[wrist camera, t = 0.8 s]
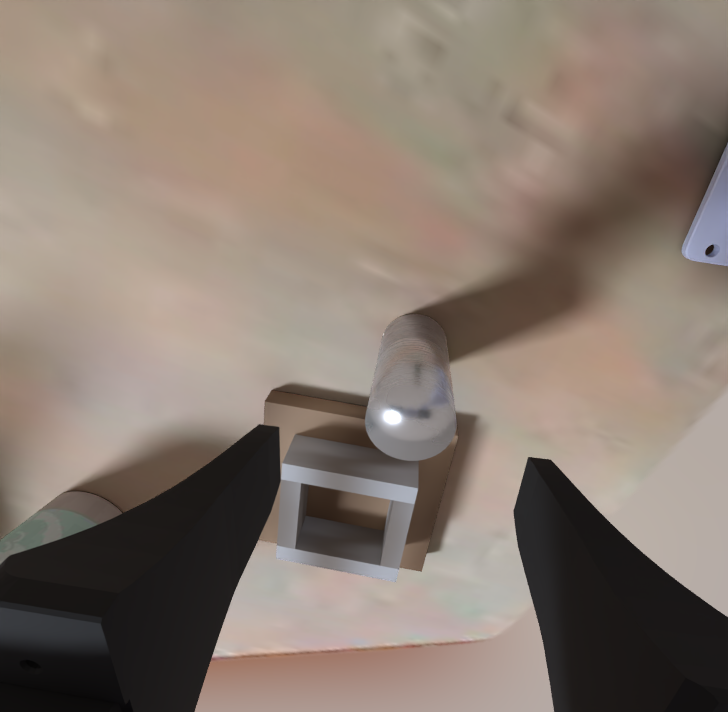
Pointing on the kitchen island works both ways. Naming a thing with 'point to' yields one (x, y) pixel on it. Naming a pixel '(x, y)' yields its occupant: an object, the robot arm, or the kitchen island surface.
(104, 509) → the coffee cup
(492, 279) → the kitchen island surface
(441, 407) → the shaft
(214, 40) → the kitchen island surface
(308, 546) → the block
